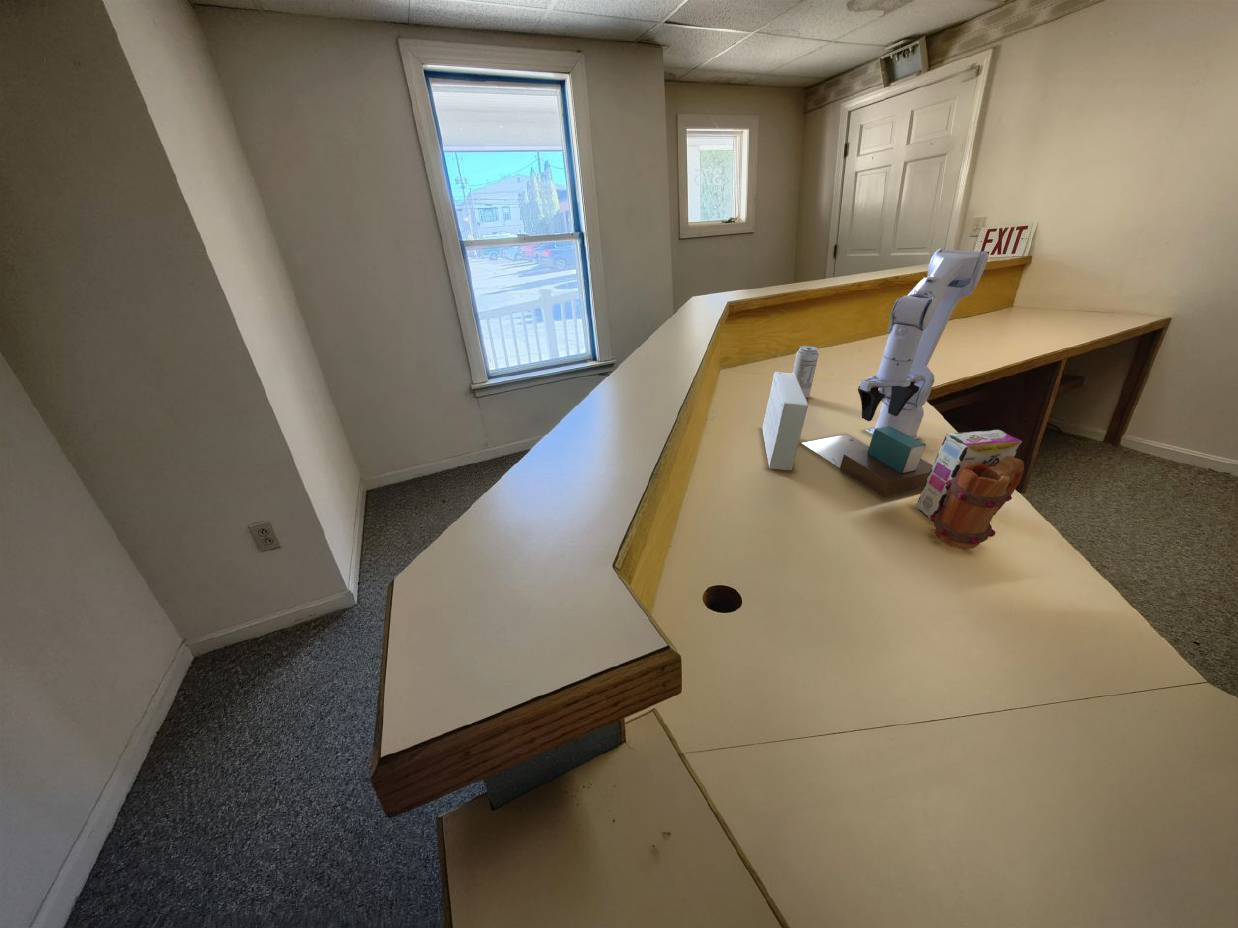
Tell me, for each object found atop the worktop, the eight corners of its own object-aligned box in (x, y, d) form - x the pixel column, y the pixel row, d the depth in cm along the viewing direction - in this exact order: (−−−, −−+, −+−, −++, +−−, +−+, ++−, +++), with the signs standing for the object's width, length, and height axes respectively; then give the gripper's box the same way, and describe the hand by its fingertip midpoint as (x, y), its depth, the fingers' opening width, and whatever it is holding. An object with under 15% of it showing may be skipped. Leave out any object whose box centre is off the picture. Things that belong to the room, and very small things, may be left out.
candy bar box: (933, 524, 84) (967, 445, 75) (913, 508, 88) (943, 432, 80) (985, 517, 85) (1024, 440, 77) (963, 502, 90) (998, 427, 81)
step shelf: (846, 435, 115) (850, 421, 113) (934, 485, 95) (941, 469, 93) (800, 444, 111) (804, 429, 109) (883, 498, 91) (888, 481, 89)
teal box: (881, 450, 100) (889, 425, 97) (917, 470, 93) (926, 444, 90) (867, 453, 99) (874, 428, 96) (901, 473, 91) (911, 447, 88)
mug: (959, 562, 75) (997, 485, 67) (914, 533, 81) (944, 461, 74) (1014, 539, 80) (1055, 465, 72) (967, 513, 86) (1000, 444, 79)
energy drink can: (806, 393, 141) (816, 345, 133) (811, 400, 135) (822, 351, 128) (786, 392, 141) (795, 344, 133) (790, 400, 136) (800, 350, 128)
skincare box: (794, 472, 100) (809, 405, 92) (768, 469, 101) (781, 403, 93) (783, 430, 118) (795, 371, 110) (761, 429, 119) (771, 370, 111)
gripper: (887, 366, 89) (868, 429, 96) (941, 359, 93) (919, 419, 100) (859, 356, 95) (843, 416, 102) (911, 349, 99) (893, 407, 106)
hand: (879, 416), depth 101 cm, fingers open, 7 cm apart
